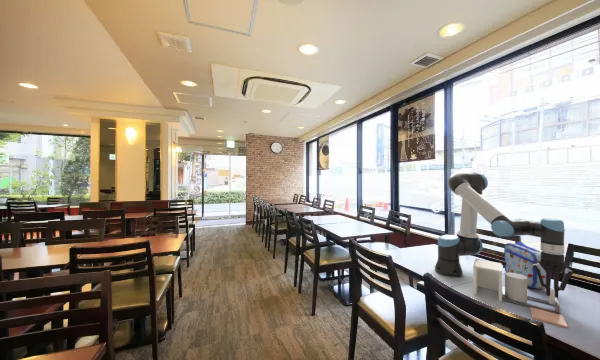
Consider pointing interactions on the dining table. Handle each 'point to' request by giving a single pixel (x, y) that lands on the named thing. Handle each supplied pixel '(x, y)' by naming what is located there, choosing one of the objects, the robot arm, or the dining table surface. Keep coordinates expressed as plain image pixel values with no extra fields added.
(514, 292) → the cup
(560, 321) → the coaster
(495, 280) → the shelf
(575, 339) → the dining table surface
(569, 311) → the dining table surface
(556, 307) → the frame
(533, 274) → the lunch box
